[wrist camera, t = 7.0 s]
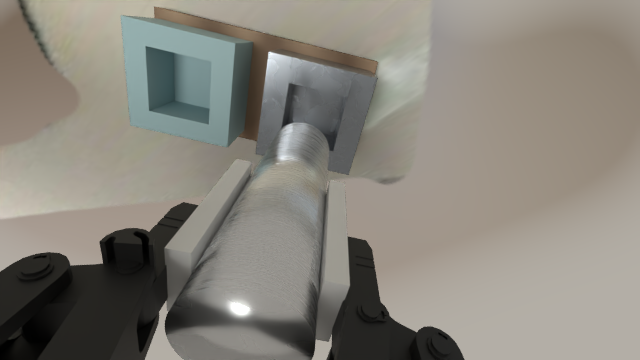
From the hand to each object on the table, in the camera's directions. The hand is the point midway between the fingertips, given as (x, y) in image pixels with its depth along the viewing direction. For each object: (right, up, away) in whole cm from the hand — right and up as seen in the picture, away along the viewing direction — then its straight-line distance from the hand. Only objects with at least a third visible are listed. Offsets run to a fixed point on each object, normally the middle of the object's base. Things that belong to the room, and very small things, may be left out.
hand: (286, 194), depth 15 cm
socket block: (+1, +9, +19) cm, 21 cm away
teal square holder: (-11, +12, +18) cm, 25 cm away
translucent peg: (0, +3, +6) cm, 6 cm away
